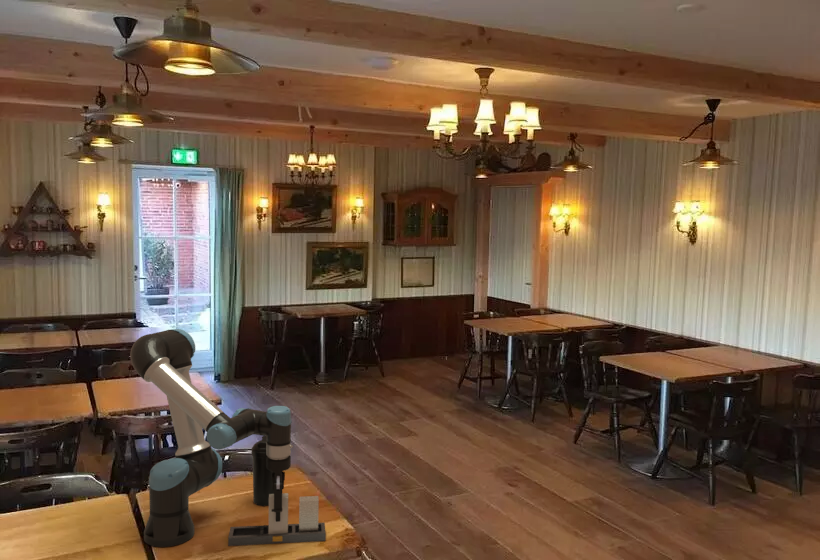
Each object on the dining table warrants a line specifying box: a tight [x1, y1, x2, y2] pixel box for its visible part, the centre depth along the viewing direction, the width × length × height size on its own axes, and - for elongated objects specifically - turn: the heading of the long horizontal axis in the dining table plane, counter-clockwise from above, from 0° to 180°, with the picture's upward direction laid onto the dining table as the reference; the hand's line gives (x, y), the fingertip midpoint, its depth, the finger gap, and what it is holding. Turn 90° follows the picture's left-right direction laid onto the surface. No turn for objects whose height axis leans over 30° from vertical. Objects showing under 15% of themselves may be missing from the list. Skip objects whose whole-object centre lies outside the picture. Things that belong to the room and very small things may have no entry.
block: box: [268, 492, 289, 534], centre depth 213 cm, size 6×4×12 cm, turn 100°
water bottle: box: [251, 436, 274, 507], centre depth 239 cm, size 10×10×23 cm
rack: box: [227, 495, 327, 547], centre depth 213 cm, size 30×8×13 cm, turn 100°
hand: (278, 526), depth 213 cm, fingers closed on block, 3 cm apart
